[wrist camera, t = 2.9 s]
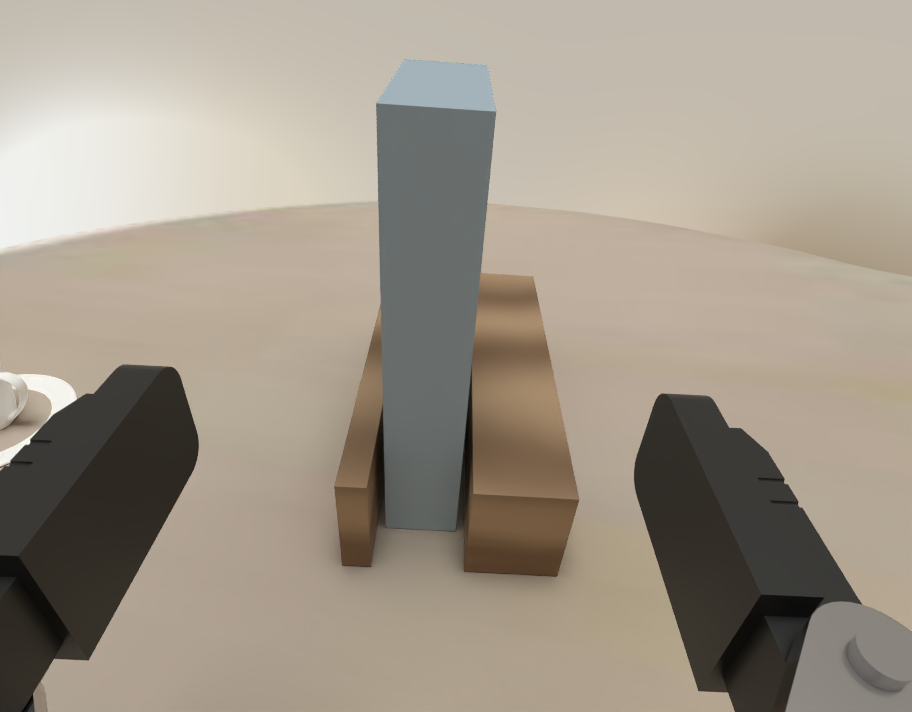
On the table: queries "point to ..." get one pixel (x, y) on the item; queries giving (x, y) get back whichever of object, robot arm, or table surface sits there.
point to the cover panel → (430, 277)
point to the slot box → (481, 445)
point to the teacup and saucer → (3, 402)
